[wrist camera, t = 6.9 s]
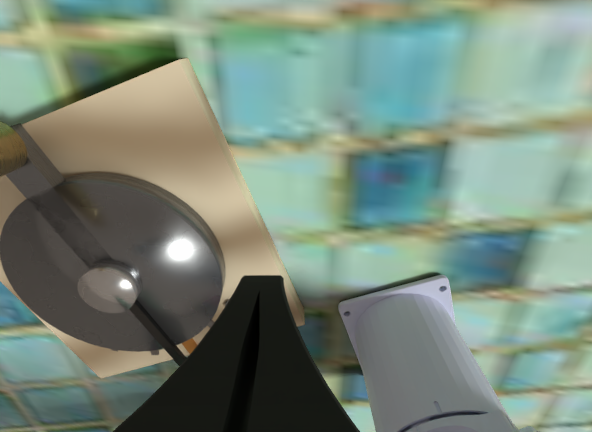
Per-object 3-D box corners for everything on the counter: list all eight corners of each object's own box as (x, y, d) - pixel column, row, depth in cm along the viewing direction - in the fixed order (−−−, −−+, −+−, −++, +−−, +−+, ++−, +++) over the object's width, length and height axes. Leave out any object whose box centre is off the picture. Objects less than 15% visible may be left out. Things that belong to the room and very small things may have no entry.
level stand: (304, 309, 24) (305, 327, 23) (110, 361, 27) (99, 381, 25) (188, 58, 16) (177, 59, 14) (-78, 167, 18) (-112, 179, 17)
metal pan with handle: (266, 319, 22) (258, 416, 16) (120, 363, 24) (67, 464, 18) (109, 62, 14) (-12, 75, 9) (-89, 158, 16) (-295, 222, 10)
